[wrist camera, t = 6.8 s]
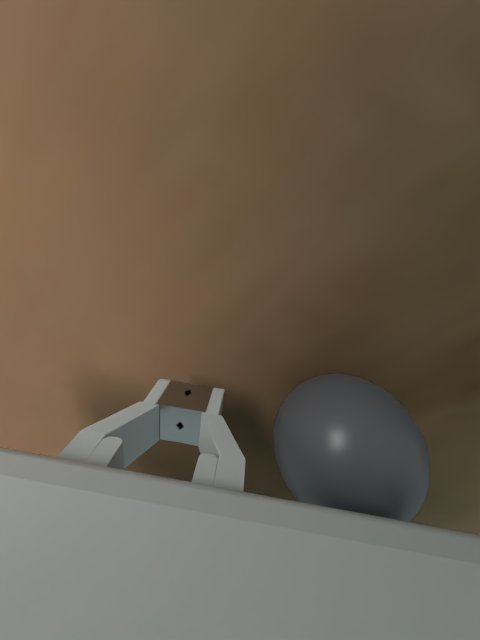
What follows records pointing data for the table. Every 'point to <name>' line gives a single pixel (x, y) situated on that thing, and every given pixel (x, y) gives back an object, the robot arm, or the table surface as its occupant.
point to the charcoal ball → (351, 448)
